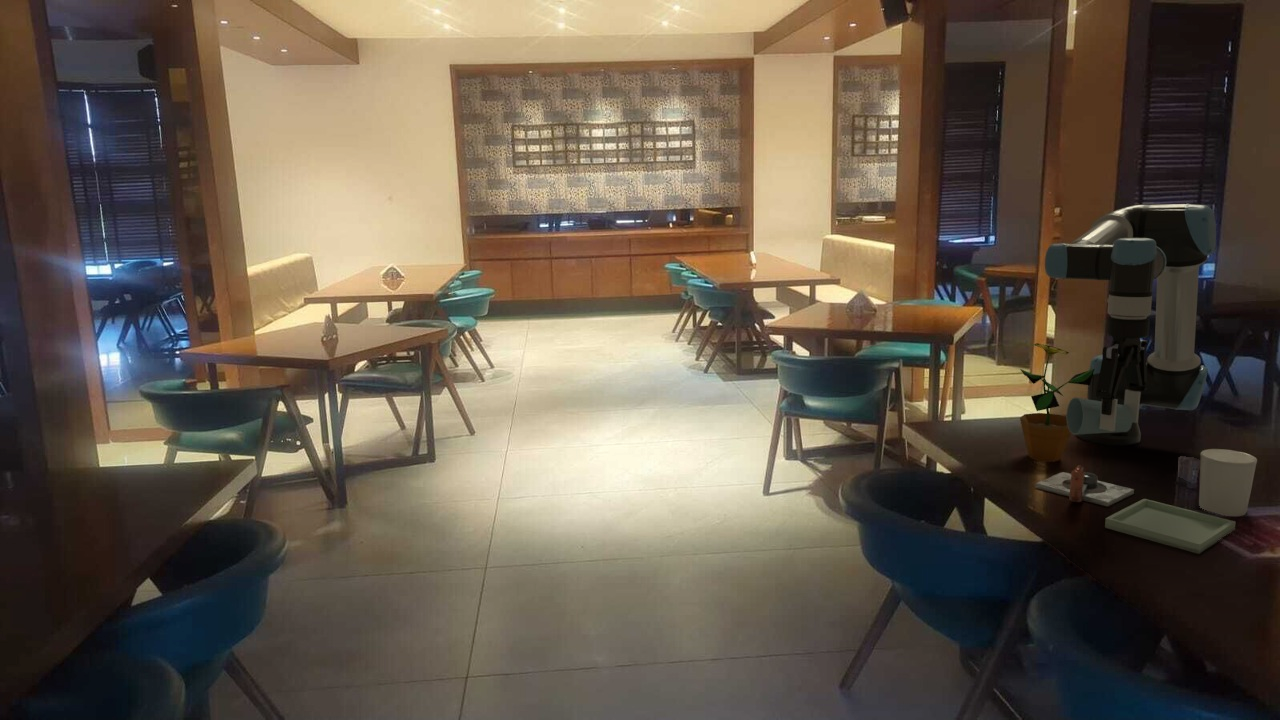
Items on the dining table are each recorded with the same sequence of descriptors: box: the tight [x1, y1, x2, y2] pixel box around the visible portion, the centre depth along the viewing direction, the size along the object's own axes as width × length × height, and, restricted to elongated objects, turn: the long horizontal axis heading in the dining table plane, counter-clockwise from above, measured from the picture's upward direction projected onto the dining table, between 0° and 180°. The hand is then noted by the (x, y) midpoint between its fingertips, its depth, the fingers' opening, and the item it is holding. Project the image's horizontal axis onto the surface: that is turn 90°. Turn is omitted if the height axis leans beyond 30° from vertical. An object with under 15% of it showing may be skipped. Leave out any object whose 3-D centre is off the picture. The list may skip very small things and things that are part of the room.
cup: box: [1066, 397, 1133, 435], centre depth 177 cm, size 8×8×10 cm
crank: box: [1068, 464, 1099, 503], centre depth 188 cm, size 16×5×7 cm, turn 144°
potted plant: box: [1019, 343, 1094, 463], centre depth 215 cm, size 18×19×30 cm
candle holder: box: [1198, 448, 1258, 517], centre depth 180 cm, size 10×10×12 cm
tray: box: [1104, 498, 1236, 555], centre depth 171 cm, size 17×17×2 cm
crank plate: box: [1035, 471, 1135, 507], centre depth 194 cm, size 12×16×1 cm
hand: (1118, 425), depth 175 cm, fingers closed on cup, 9 cm apart
